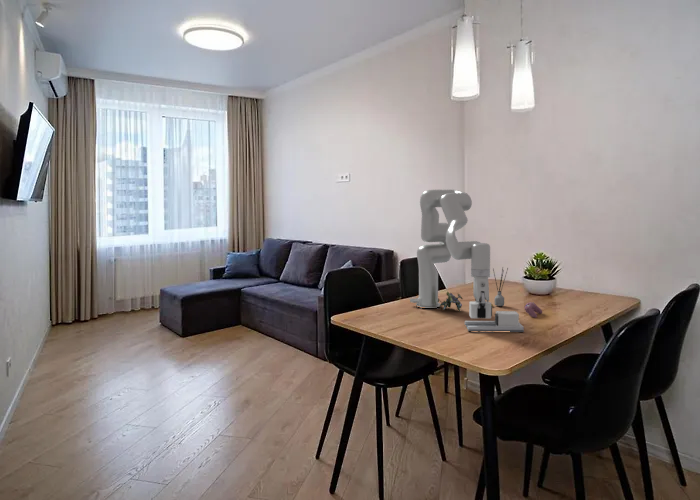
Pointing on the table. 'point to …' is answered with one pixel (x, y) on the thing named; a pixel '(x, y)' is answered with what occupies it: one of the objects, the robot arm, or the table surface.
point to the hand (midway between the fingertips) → (480, 315)
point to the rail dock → (498, 323)
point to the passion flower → (451, 301)
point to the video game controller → (532, 309)
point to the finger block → (474, 305)
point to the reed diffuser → (499, 293)
